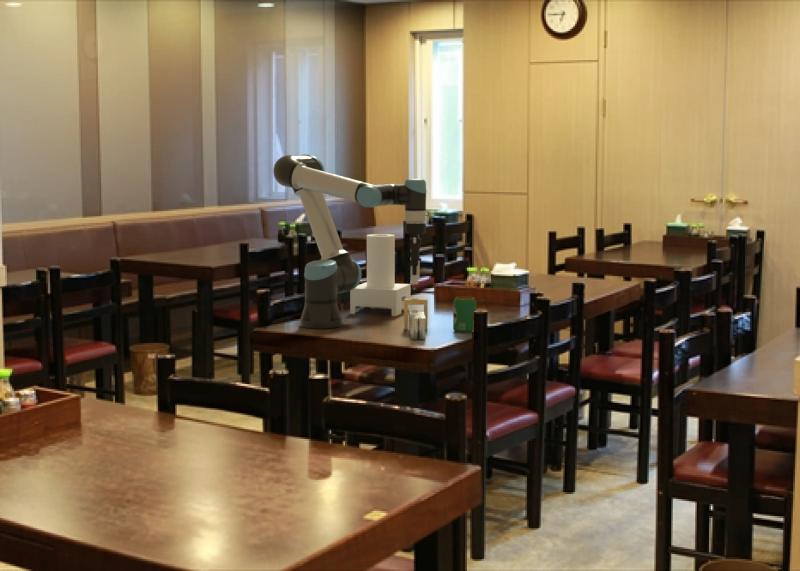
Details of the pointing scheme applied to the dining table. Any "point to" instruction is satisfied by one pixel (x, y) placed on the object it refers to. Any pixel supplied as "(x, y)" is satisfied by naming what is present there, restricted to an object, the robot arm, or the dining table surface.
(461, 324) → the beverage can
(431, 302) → the dining table surface
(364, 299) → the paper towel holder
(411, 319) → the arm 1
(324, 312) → the robot arm
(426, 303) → the tan flat upright block
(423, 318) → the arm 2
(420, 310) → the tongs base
